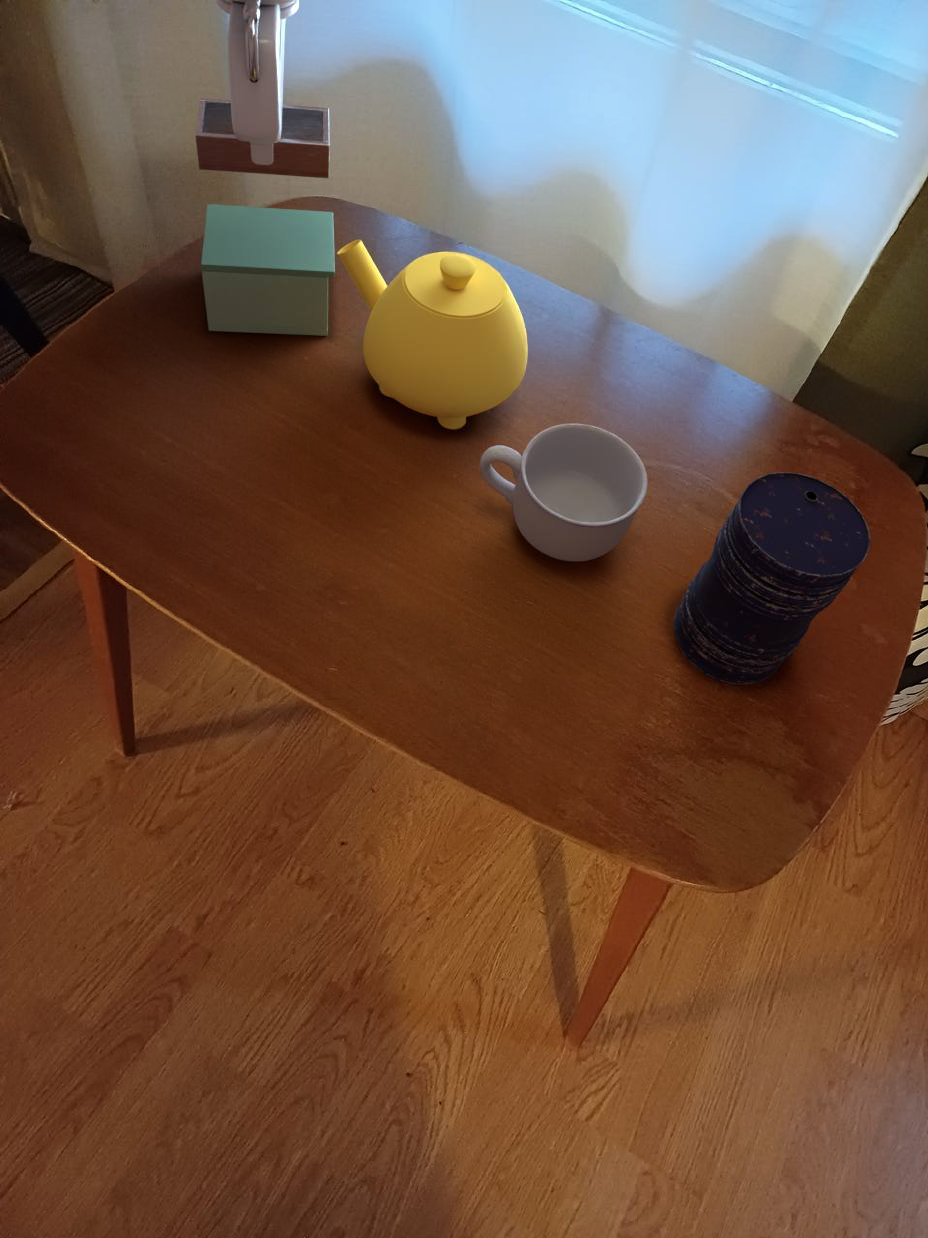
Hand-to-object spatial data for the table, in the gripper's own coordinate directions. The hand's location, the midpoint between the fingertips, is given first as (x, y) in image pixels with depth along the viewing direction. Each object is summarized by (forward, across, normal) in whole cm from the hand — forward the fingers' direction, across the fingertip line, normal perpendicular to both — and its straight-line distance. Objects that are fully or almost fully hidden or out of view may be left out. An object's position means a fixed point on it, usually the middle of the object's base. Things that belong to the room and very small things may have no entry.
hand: (264, 136), depth 80 cm
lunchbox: (+18, 0, 0) cm, 18 cm away
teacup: (+18, -28, -25) cm, 42 cm away
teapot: (+18, -9, -15) cm, 25 cm away
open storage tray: (+2, 0, 0) cm, 2 cm away
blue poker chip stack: (+18, -40, -39) cm, 59 cm away
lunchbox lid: (+11, 0, 0) cm, 11 cm away
